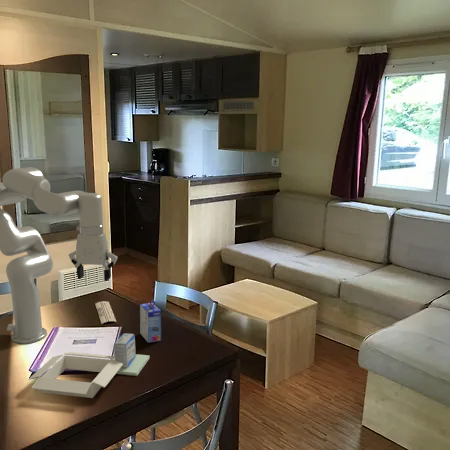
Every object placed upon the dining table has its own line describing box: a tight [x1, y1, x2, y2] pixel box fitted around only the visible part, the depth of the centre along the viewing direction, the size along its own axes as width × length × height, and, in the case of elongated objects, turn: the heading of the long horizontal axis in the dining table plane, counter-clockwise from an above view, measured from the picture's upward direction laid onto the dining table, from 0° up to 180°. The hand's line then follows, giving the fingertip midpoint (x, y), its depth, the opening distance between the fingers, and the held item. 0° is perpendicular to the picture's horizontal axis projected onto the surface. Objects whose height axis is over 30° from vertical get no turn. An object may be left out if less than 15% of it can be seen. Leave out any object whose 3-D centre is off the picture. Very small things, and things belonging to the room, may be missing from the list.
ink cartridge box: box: [139, 299, 162, 344], centre depth 180 cm, size 10×6×14 cm, turn 27°
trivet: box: [110, 353, 151, 377], centre depth 160 cm, size 12×12×1 cm
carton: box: [28, 351, 123, 399], centre depth 149 cm, size 25×23×5 cm
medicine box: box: [113, 333, 136, 368], centre depth 160 cm, size 8×4×9 cm, turn 170°
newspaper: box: [94, 301, 117, 325], centre depth 204 cm, size 24×7×2 cm, turn 21°
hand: (94, 278), depth 163 cm, fingers open, 9 cm apart
